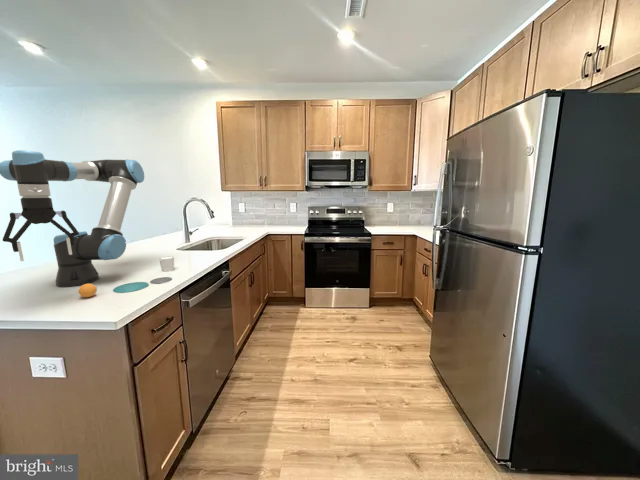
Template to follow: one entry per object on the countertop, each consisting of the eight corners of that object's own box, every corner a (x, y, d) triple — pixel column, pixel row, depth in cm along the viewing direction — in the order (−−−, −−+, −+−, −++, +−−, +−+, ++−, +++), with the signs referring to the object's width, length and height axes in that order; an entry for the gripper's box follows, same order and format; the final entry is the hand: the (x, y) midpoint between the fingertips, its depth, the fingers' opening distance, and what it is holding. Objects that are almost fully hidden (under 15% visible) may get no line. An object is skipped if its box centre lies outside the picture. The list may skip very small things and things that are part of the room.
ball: (76, 299, 105) (73, 285, 104) (90, 293, 110) (88, 281, 109) (87, 300, 104) (84, 286, 103) (101, 294, 109) (99, 282, 108)
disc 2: (145, 283, 123) (145, 282, 123) (160, 277, 132) (160, 276, 132) (162, 284, 122) (161, 284, 122) (176, 278, 130) (176, 277, 130)
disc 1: (105, 291, 113) (104, 291, 113) (131, 281, 126) (131, 281, 125) (130, 293, 110) (130, 293, 110) (155, 283, 123) (155, 282, 123)
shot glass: (164, 268, 146) (163, 256, 145) (177, 268, 147) (176, 256, 146) (158, 272, 140) (156, 259, 138) (171, 272, 140) (170, 259, 139)
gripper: (-20, 198, 82) (-5, 266, 86) (83, 196, 100) (92, 253, 103) (-19, 197, 87) (-4, 261, 91) (79, 196, 104) (88, 250, 108)
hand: (47, 257), depth 97 cm, fingers open, 12 cm apart
